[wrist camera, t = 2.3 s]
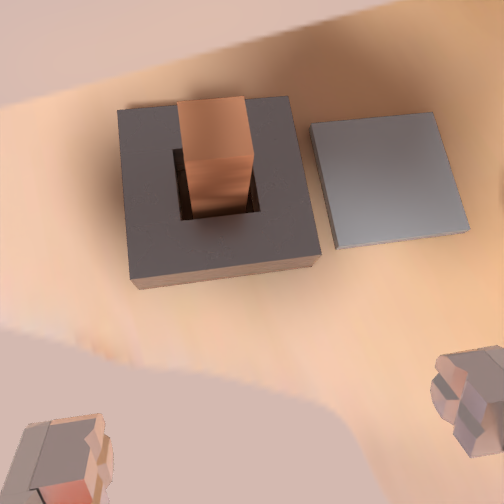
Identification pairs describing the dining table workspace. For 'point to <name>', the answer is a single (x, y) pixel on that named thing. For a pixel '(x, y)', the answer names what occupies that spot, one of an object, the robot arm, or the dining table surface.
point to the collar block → (214, 228)
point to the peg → (216, 155)
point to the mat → (386, 180)
